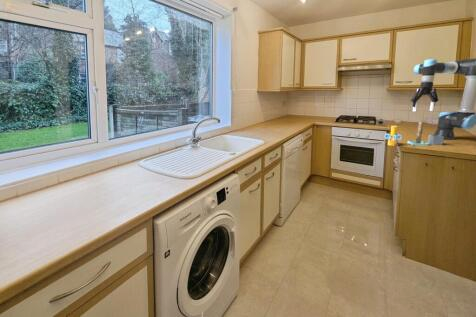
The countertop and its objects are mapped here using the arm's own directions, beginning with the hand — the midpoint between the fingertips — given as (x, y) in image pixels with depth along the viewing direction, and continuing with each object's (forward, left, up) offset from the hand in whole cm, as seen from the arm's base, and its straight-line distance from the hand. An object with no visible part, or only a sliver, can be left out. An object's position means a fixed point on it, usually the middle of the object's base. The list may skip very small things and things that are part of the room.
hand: (422, 111), depth 206 cm
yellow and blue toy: (+13, -14, -26) cm, 32 cm away
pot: (-10, +8, -26) cm, 29 cm away
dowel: (0, 0, -25) cm, 25 cm away
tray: (0, 0, -26) cm, 26 cm away
